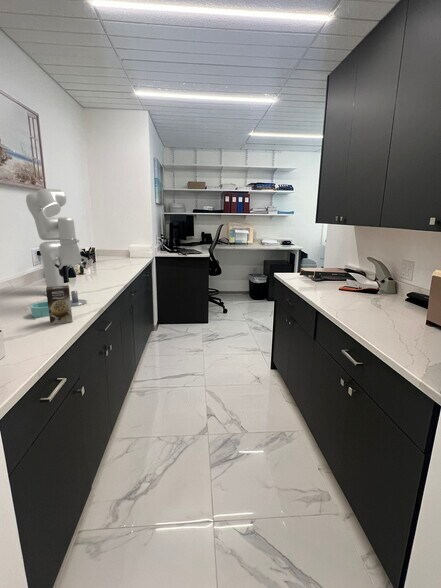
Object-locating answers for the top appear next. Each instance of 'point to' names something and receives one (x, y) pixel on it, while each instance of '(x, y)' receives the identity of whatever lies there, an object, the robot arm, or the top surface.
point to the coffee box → (59, 304)
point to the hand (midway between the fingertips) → (72, 275)
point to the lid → (76, 300)
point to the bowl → (39, 309)
